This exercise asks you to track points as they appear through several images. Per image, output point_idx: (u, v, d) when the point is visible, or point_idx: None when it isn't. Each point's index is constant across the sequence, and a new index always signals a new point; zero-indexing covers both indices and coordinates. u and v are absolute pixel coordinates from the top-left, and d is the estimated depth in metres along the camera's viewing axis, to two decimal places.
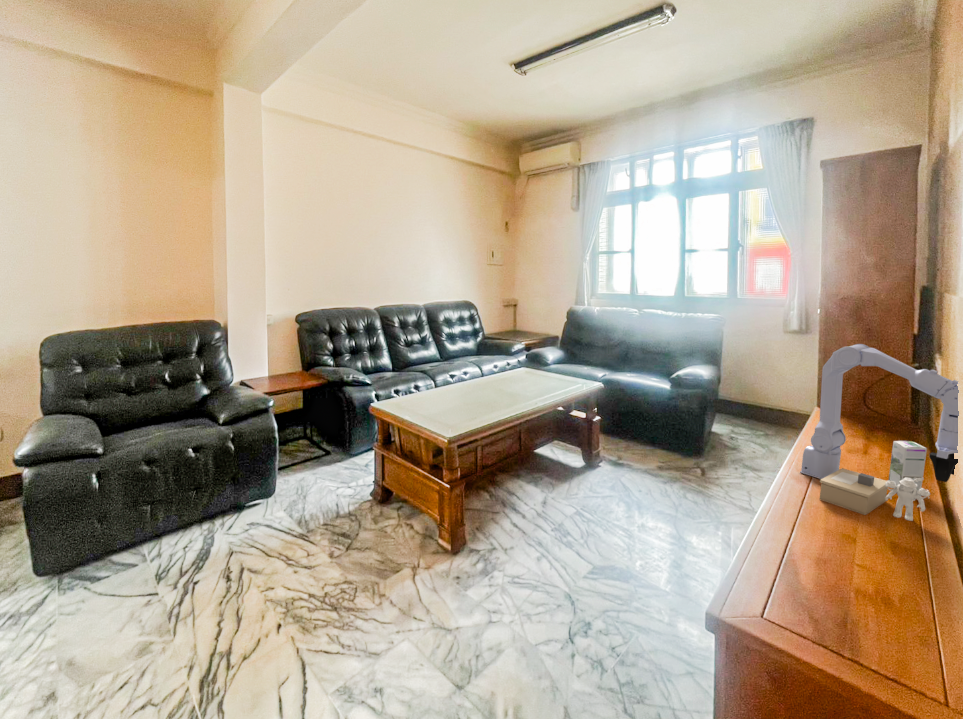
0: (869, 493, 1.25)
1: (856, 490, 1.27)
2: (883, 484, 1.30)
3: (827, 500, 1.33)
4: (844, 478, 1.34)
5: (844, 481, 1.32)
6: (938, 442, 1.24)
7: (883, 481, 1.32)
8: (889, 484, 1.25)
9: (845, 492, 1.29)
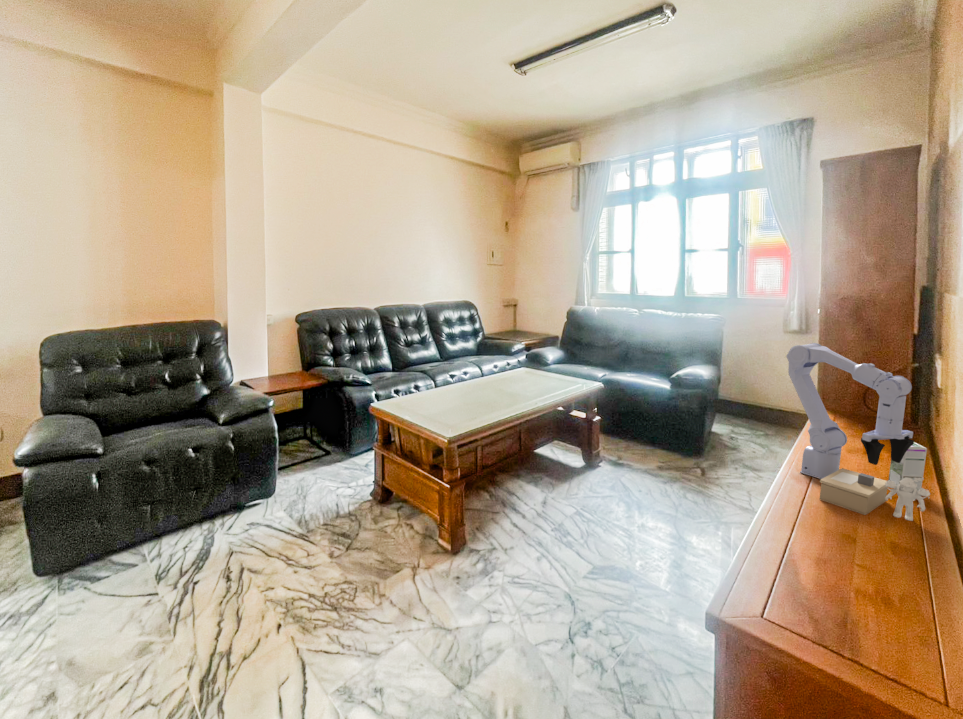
0: (869, 493, 1.25)
1: (856, 490, 1.27)
2: (883, 484, 1.30)
3: (827, 500, 1.33)
4: (844, 478, 1.34)
5: (844, 481, 1.32)
6: (875, 429, 1.34)
7: (883, 481, 1.32)
8: (889, 484, 1.25)
9: (845, 492, 1.29)
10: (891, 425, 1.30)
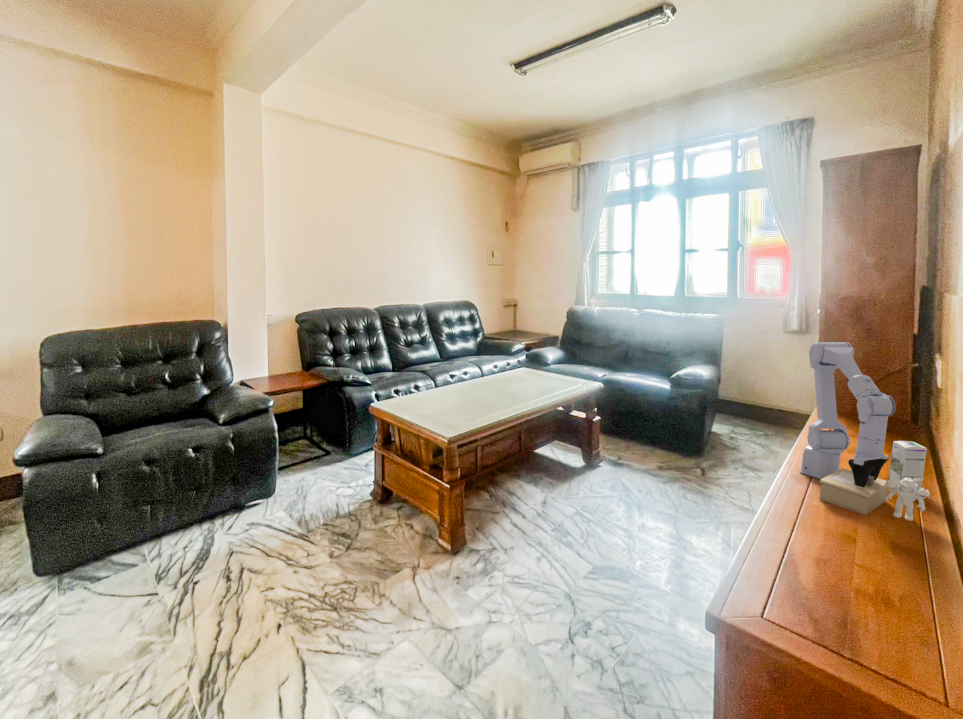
0: (869, 493, 1.25)
1: (856, 490, 1.27)
2: (883, 484, 1.30)
3: (827, 500, 1.33)
4: (844, 478, 1.34)
5: (844, 481, 1.32)
6: (857, 449, 1.30)
7: (883, 481, 1.32)
8: (889, 484, 1.25)
9: (845, 492, 1.29)
10: (878, 445, 1.25)
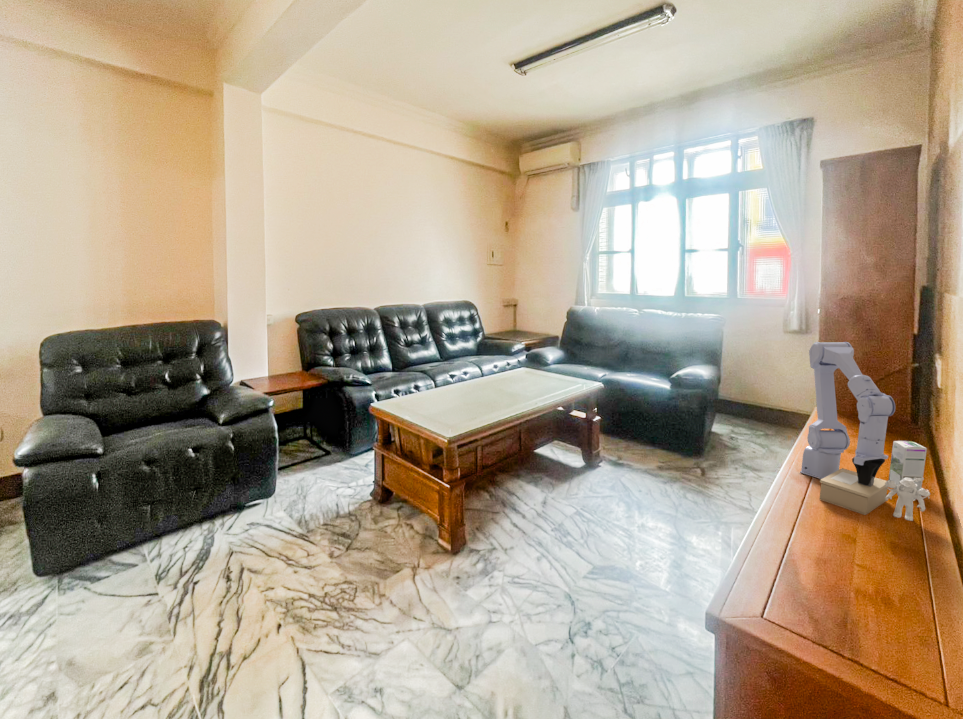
0: (869, 493, 1.25)
1: (856, 490, 1.27)
2: (883, 484, 1.30)
3: (827, 500, 1.33)
4: (844, 478, 1.34)
5: (844, 481, 1.32)
6: (857, 449, 1.30)
7: (883, 481, 1.32)
8: (889, 484, 1.25)
9: (845, 492, 1.29)
10: (878, 445, 1.25)
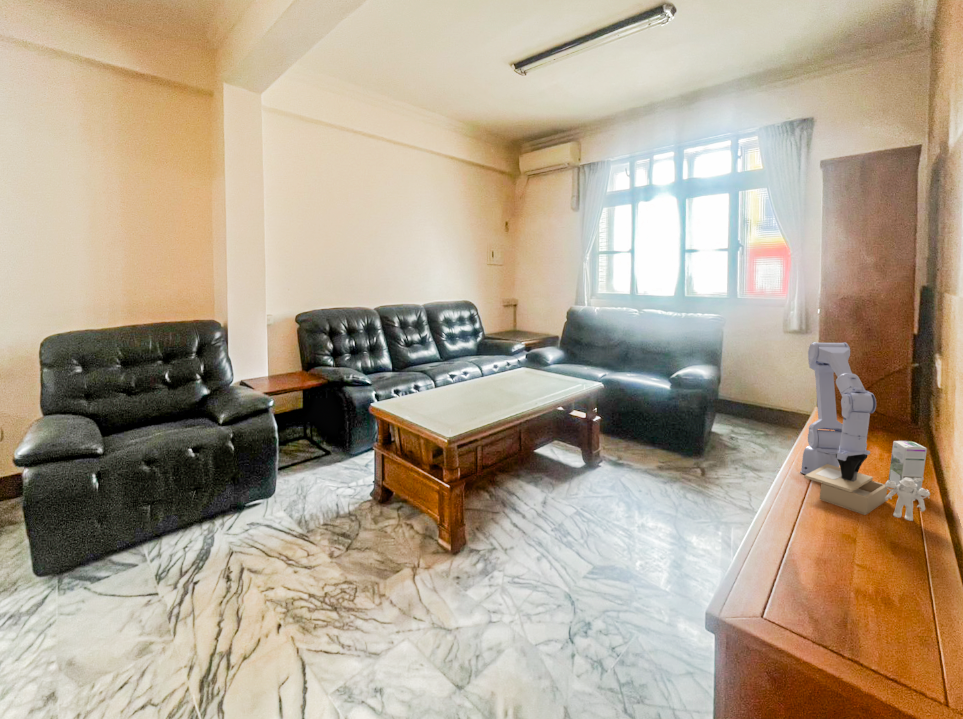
0: (852, 488, 1.28)
1: (839, 485, 1.30)
2: (866, 479, 1.33)
3: (827, 500, 1.33)
4: (828, 473, 1.37)
5: (828, 476, 1.35)
6: (840, 445, 1.33)
7: (866, 476, 1.35)
8: (889, 484, 1.25)
9: (845, 492, 1.29)
10: (860, 441, 1.29)
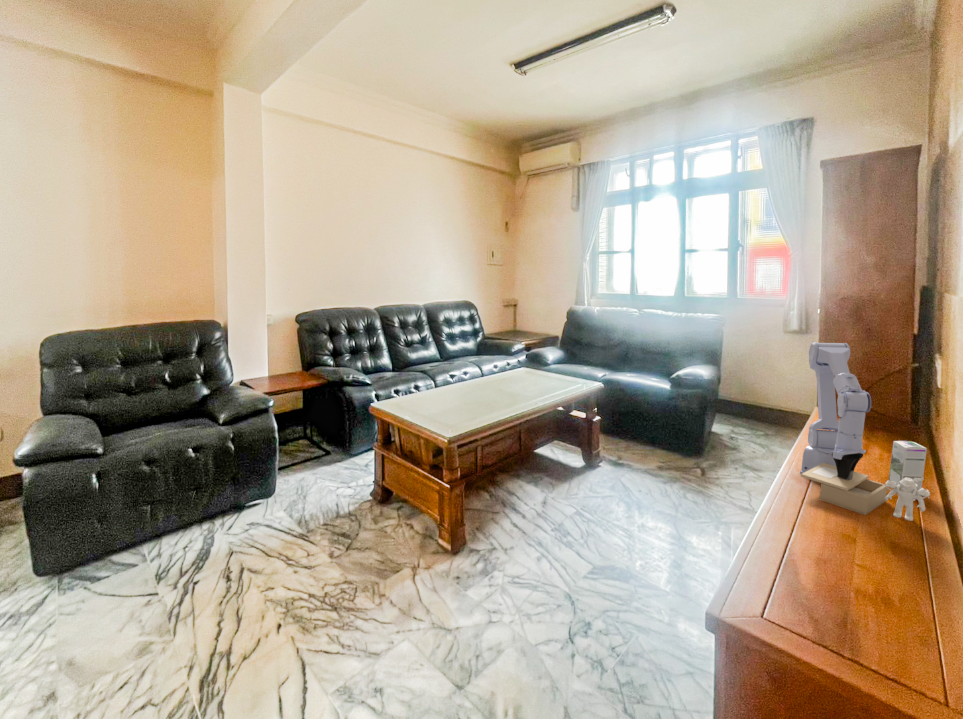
0: (847, 486, 1.29)
1: (835, 483, 1.31)
2: (862, 478, 1.34)
3: (827, 500, 1.33)
4: (824, 472, 1.38)
5: (824, 475, 1.36)
6: (836, 444, 1.34)
7: (862, 475, 1.36)
8: (889, 484, 1.25)
9: (845, 492, 1.29)
10: (856, 440, 1.30)
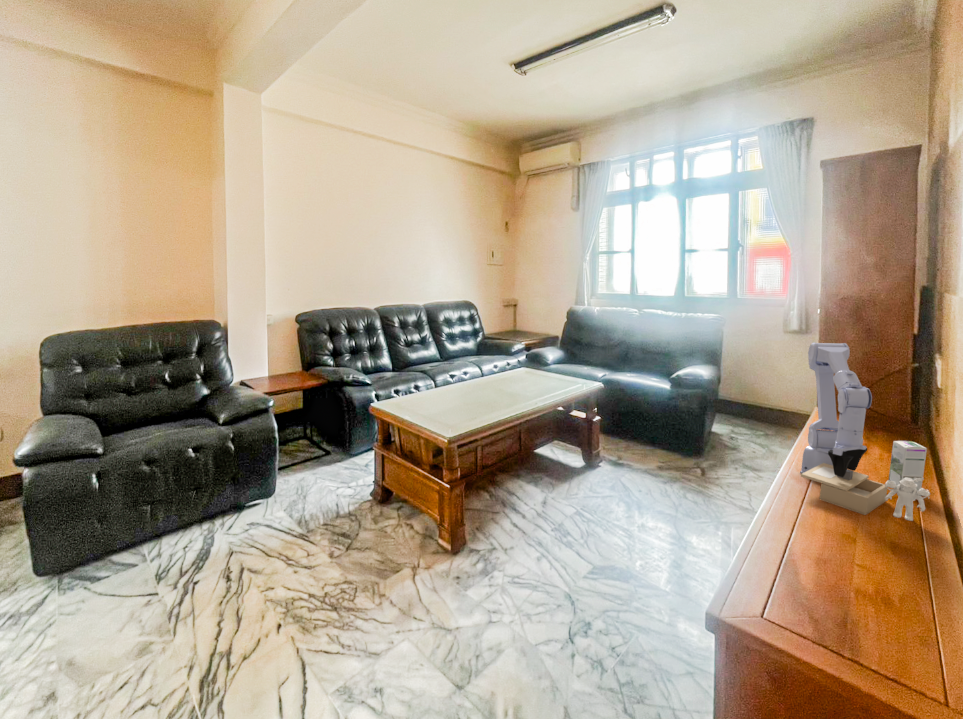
0: (847, 486, 1.29)
1: (835, 483, 1.31)
2: (862, 478, 1.34)
3: (827, 500, 1.33)
4: (824, 472, 1.38)
5: (824, 475, 1.36)
6: (837, 440, 1.34)
7: (862, 475, 1.36)
8: (889, 484, 1.25)
9: (845, 492, 1.29)
10: (856, 436, 1.29)
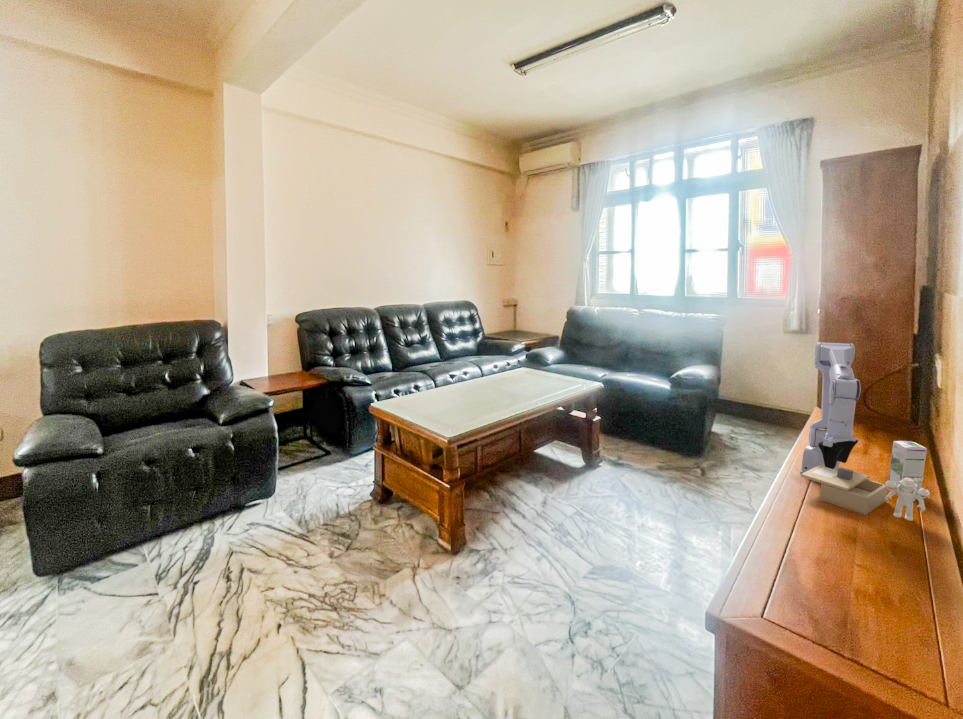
0: (847, 486, 1.29)
1: (835, 483, 1.31)
2: (862, 478, 1.34)
3: (827, 500, 1.33)
4: (824, 472, 1.38)
5: (824, 475, 1.36)
6: (827, 432, 1.33)
7: (862, 475, 1.36)
8: (889, 484, 1.25)
9: (845, 492, 1.29)
10: (846, 428, 1.29)
